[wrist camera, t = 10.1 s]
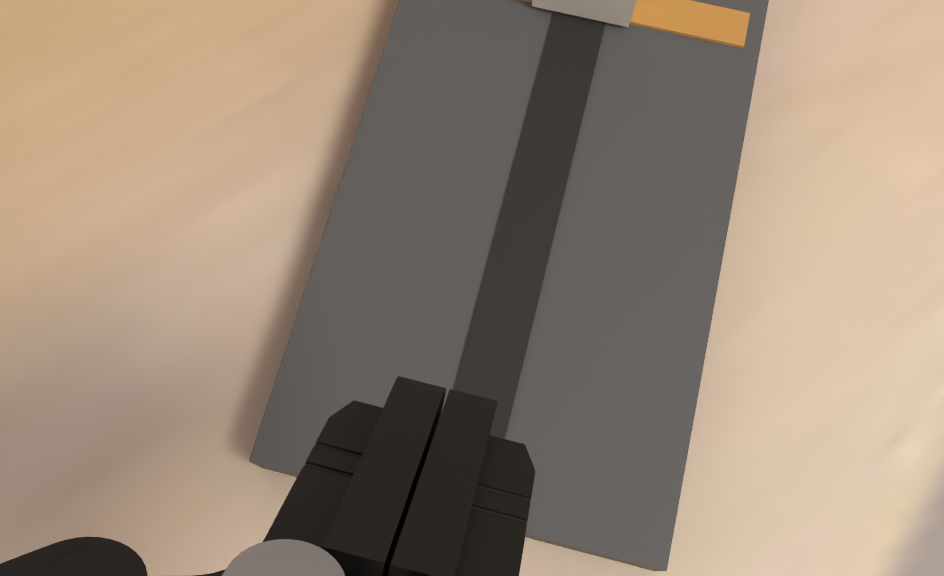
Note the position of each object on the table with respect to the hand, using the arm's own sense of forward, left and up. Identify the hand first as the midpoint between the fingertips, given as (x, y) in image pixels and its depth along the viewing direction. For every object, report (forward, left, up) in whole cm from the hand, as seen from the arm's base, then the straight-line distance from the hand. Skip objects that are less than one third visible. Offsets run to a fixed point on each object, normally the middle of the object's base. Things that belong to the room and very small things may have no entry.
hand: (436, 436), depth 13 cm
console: (0, +12, -12) cm, 17 cm away
